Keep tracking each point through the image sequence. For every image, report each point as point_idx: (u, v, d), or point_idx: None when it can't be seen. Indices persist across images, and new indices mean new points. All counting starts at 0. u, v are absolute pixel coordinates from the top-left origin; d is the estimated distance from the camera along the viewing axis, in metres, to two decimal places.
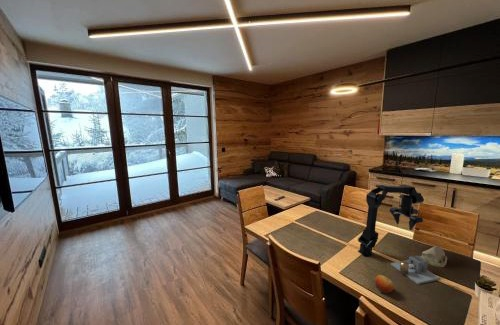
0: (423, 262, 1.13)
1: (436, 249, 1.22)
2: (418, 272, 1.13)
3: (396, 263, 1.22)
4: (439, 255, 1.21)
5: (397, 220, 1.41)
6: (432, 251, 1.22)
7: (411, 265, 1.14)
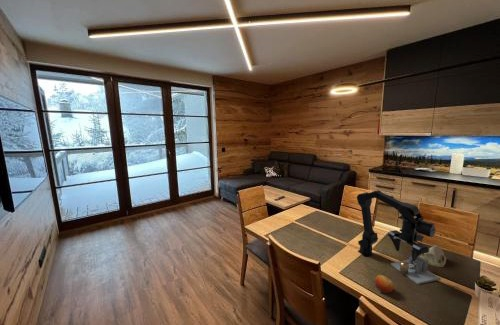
0: (423, 262, 1.13)
1: (435, 249, 1.22)
2: (418, 272, 1.13)
3: (396, 263, 1.22)
4: (438, 255, 1.21)
5: (397, 246, 1.17)
6: (431, 251, 1.22)
7: (411, 265, 1.14)
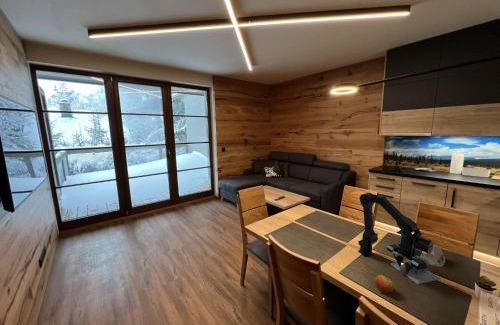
0: None
1: (435, 249, 1.23)
2: (418, 272, 1.13)
3: (396, 263, 1.22)
4: (438, 255, 1.21)
5: (400, 263, 1.15)
6: None
7: None
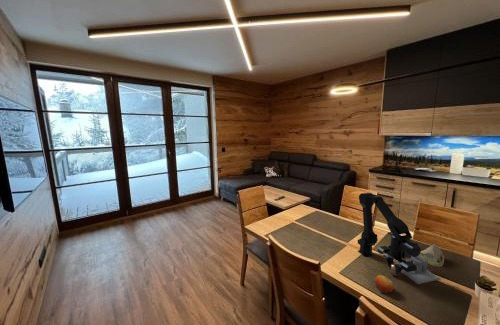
0: (423, 262, 1.13)
1: (434, 248, 1.23)
2: (418, 272, 1.13)
3: (396, 263, 1.22)
4: (437, 254, 1.21)
5: (390, 265, 1.14)
6: (430, 251, 1.22)
7: None
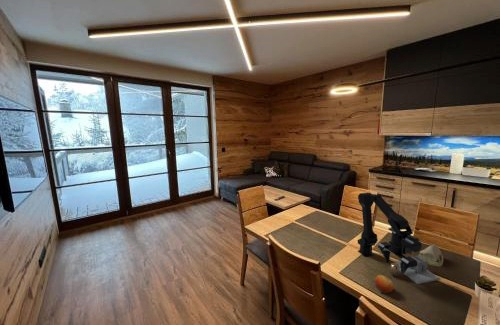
0: (423, 262, 1.13)
1: (433, 248, 1.23)
2: (418, 272, 1.13)
3: (396, 263, 1.22)
4: (437, 254, 1.21)
5: (387, 258, 1.16)
6: (430, 251, 1.22)
7: None
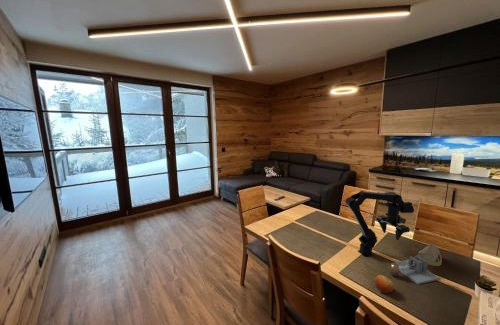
0: (423, 262, 1.13)
1: (432, 248, 1.23)
2: (418, 272, 1.13)
3: (396, 263, 1.22)
4: (436, 254, 1.22)
5: (384, 229, 1.34)
6: (429, 250, 1.22)
7: (401, 267, 1.13)
